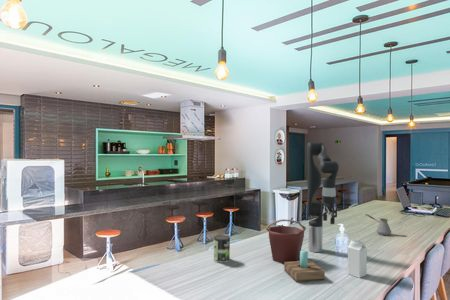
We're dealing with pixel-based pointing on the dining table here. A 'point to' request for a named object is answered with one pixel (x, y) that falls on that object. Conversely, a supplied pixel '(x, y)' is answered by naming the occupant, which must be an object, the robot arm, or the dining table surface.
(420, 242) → the dining table surface
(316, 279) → the bore block
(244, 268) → the dining table surface
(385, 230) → the coffee pot
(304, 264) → the dowel
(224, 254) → the coffee can
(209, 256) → the dining table surface
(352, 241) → the milk carton
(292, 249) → the bucket
